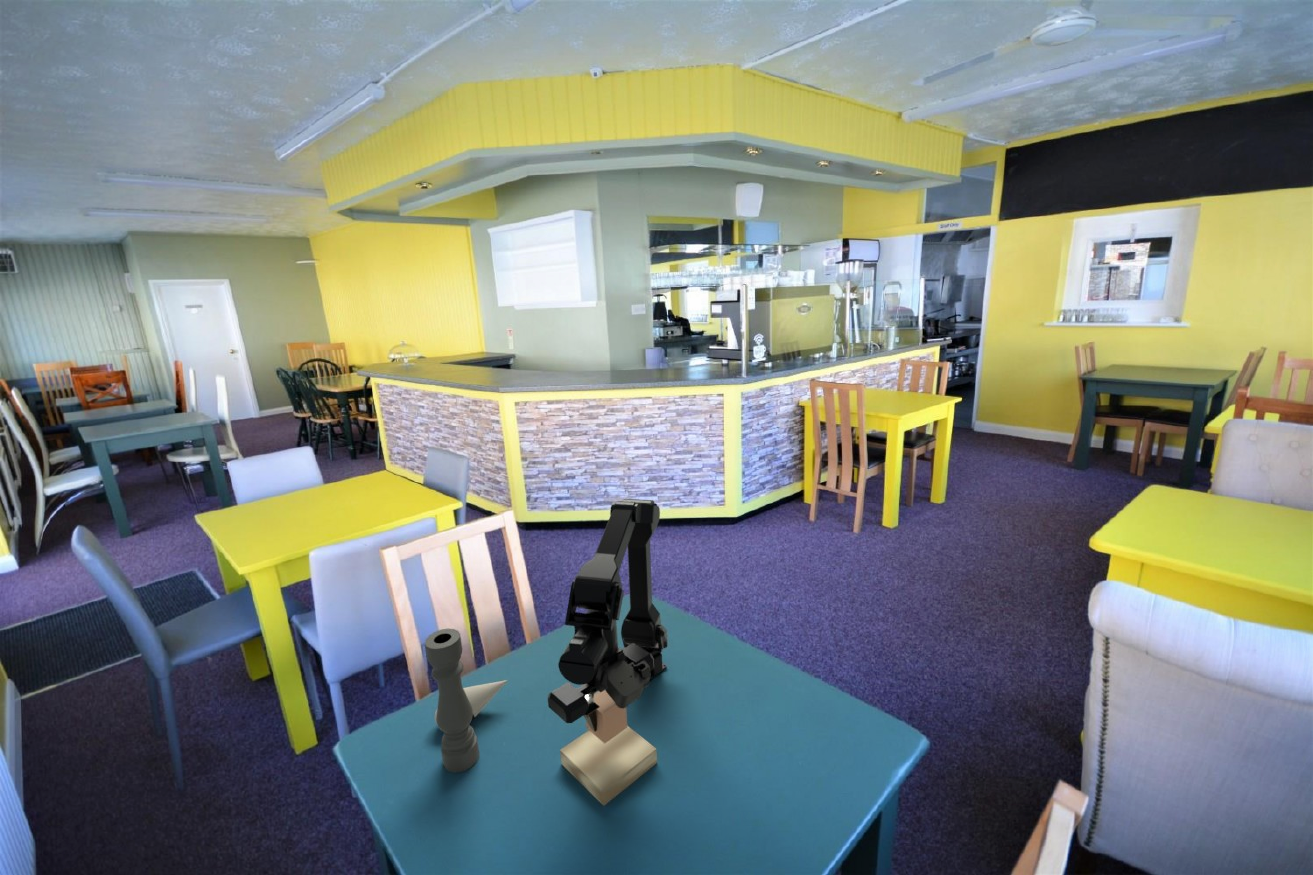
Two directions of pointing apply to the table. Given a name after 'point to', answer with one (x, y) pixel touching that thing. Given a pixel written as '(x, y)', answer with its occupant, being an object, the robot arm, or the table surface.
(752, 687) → the table surface
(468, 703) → the candle holder
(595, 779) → the birch base
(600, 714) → the terracotta block
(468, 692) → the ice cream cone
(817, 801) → the table surface
